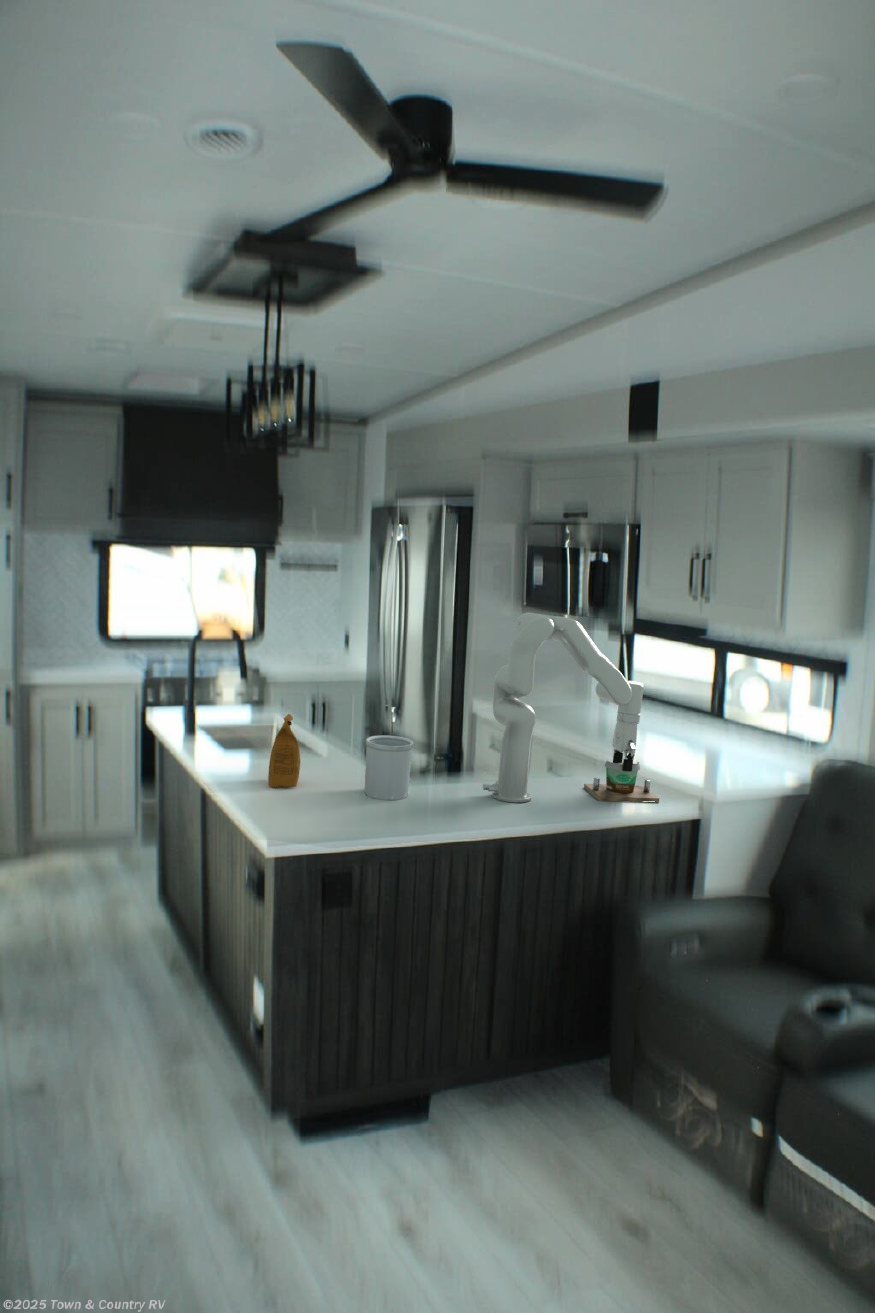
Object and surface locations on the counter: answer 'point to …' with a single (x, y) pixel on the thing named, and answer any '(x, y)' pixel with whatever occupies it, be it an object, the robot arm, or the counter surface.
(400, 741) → the utensil holder
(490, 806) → the counter surface
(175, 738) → the counter surface
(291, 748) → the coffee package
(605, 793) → the board
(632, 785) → the food container
